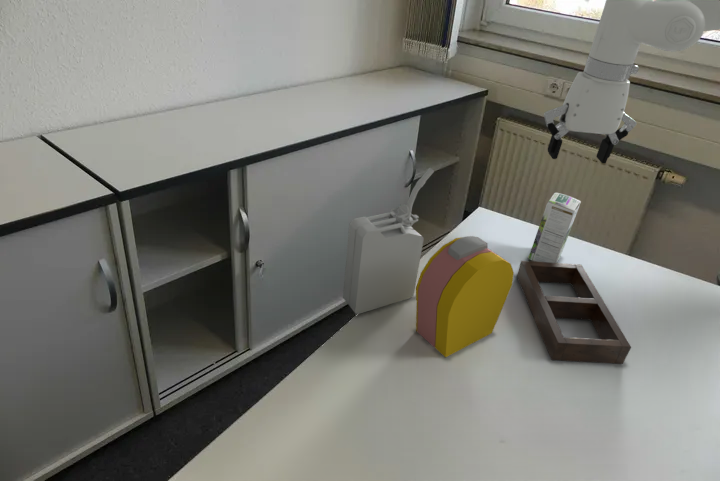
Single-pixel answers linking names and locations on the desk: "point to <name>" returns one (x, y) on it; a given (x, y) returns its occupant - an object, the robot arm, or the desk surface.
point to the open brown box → (571, 314)
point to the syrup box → (554, 228)
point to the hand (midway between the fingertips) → (576, 158)
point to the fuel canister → (383, 257)
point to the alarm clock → (461, 294)
